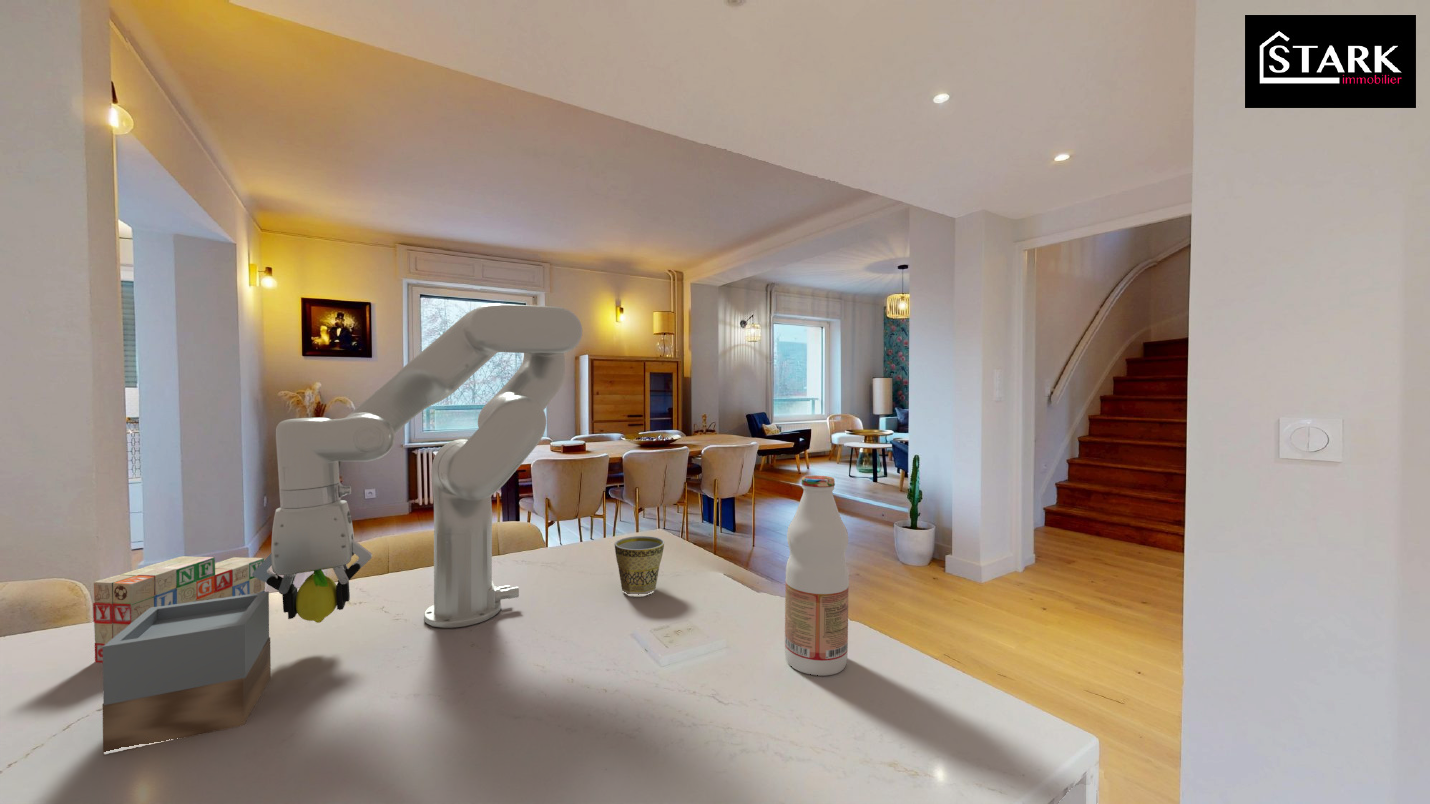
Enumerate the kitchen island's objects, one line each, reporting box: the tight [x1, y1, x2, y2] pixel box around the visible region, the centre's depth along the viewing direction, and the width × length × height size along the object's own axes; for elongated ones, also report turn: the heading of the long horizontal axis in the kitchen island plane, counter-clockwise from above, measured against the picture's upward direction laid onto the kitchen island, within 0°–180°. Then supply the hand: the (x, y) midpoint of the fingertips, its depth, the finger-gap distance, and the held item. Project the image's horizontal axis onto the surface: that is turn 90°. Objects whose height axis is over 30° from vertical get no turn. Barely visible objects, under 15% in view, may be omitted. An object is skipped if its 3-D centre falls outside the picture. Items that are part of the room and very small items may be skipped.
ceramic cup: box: [614, 535, 665, 595], centre depth 111 cm, size 13×10×10 cm
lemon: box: [296, 569, 337, 624], centre depth 84 cm, size 7×6×10 cm
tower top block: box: [102, 591, 270, 706], centre depth 67 cm, size 12×12×6 cm
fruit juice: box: [784, 474, 850, 677], centre depth 81 cm, size 9×9×28 cm
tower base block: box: [102, 636, 272, 753], centre depth 67 cm, size 12×12×6 cm
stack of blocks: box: [92, 555, 266, 664], centre depth 89 cm, size 21×6×12 cm, turn 175°
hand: (317, 609), depth 84 cm, fingers closed on lemon, 5 cm apart
